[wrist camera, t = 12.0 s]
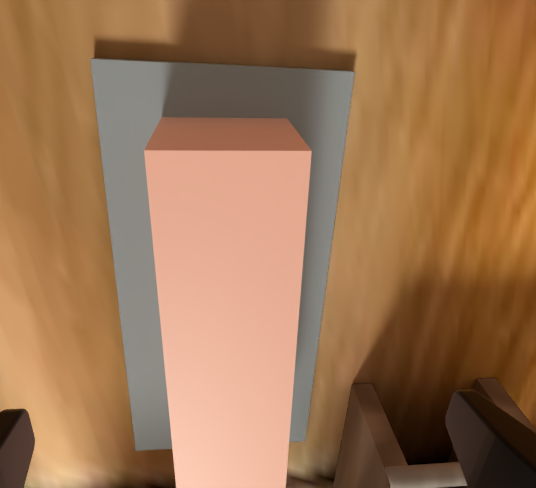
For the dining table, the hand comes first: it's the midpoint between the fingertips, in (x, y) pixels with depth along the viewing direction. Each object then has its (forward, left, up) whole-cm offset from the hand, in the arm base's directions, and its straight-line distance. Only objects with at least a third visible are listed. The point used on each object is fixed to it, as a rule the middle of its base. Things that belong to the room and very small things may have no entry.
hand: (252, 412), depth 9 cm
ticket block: (0, +5, -11) cm, 12 cm away
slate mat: (0, +5, -12) cm, 13 cm away
